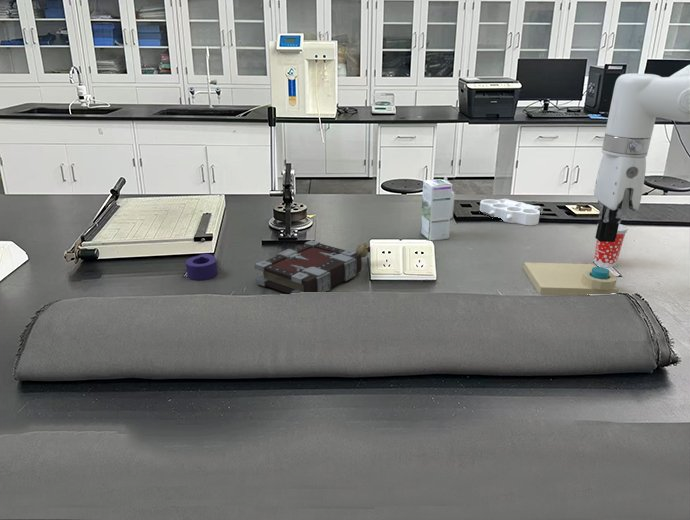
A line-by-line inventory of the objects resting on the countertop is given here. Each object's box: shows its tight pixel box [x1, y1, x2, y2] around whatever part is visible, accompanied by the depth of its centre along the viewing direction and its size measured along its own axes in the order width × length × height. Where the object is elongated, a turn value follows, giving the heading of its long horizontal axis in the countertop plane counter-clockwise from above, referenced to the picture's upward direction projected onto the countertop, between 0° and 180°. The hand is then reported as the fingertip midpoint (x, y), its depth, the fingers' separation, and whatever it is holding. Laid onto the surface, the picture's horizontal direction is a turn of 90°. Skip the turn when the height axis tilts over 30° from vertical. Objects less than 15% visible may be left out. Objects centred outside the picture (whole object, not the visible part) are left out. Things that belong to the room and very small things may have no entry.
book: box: [254, 239, 371, 294], centre depth 114 cm, size 15×25×5 cm, turn 143°
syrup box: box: [420, 178, 453, 241], centre depth 135 cm, size 6×6×14 cm
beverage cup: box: [593, 223, 629, 268], centre depth 118 cm, size 6×6×14 cm
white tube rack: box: [479, 198, 544, 227], centre depth 153 cm, size 3×18×15 cm
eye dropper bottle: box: [443, 176, 456, 220], centre depth 150 cm, size 4×6×12 cm
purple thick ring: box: [185, 253, 218, 281], centre depth 116 cm, size 12×6×3 cm, turn 9°
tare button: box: [591, 266, 611, 279], centre depth 106 cm, size 3×3×2 cm
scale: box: [522, 261, 619, 296], centre depth 110 cm, size 15×14×4 cm
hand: (604, 240), depth 103 cm, fingers closed
